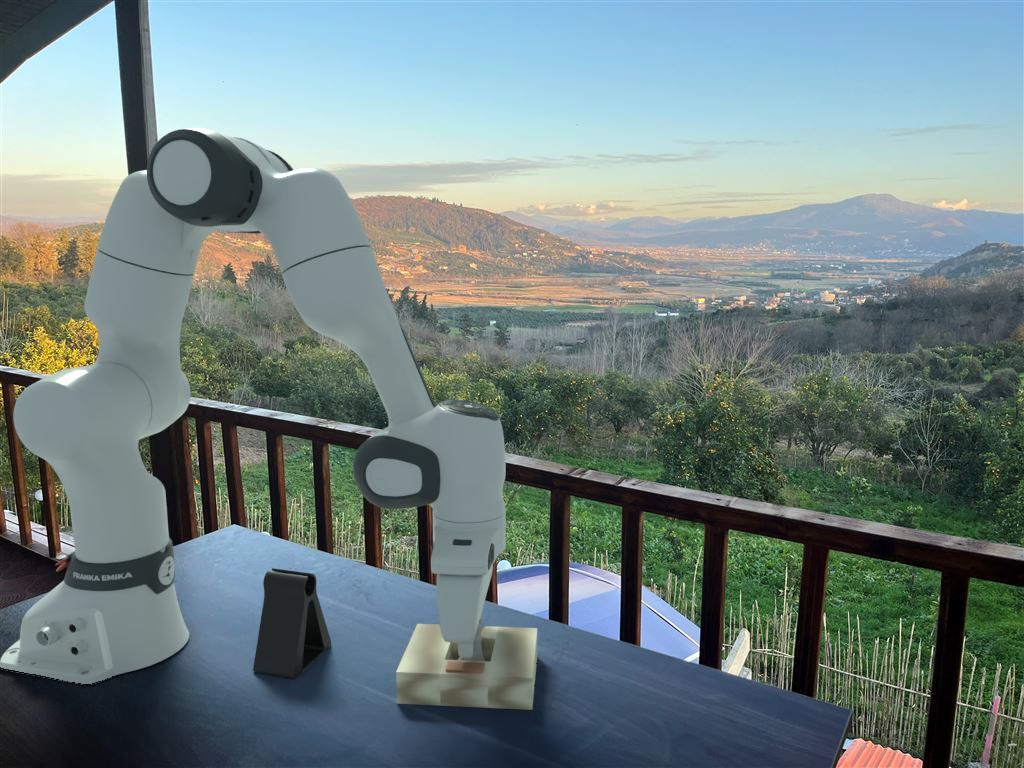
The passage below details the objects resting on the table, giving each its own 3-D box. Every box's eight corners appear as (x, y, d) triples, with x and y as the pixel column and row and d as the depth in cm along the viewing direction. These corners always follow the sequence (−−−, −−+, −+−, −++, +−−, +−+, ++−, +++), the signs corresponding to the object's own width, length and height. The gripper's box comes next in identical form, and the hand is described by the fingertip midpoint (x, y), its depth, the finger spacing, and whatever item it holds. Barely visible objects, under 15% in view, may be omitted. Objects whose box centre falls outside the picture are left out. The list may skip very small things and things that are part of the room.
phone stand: (293, 639, 101) (289, 556, 100) (331, 645, 100) (328, 562, 98) (252, 672, 93) (247, 583, 91) (293, 680, 91) (289, 589, 89)
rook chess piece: (484, 690, 89) (484, 628, 87) (449, 686, 90) (448, 625, 88) (493, 671, 93) (493, 612, 92) (459, 667, 94) (459, 608, 93)
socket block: (396, 703, 86) (396, 669, 85) (418, 651, 98) (417, 621, 97) (532, 709, 85) (532, 675, 84) (537, 656, 97) (537, 626, 96)
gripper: (457, 506, 99) (458, 602, 101) (427, 565, 79) (429, 684, 81) (503, 507, 98) (503, 604, 101) (485, 567, 78) (486, 687, 80)
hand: (470, 640), depth 91 cm, fingers open, 5 cm apart
